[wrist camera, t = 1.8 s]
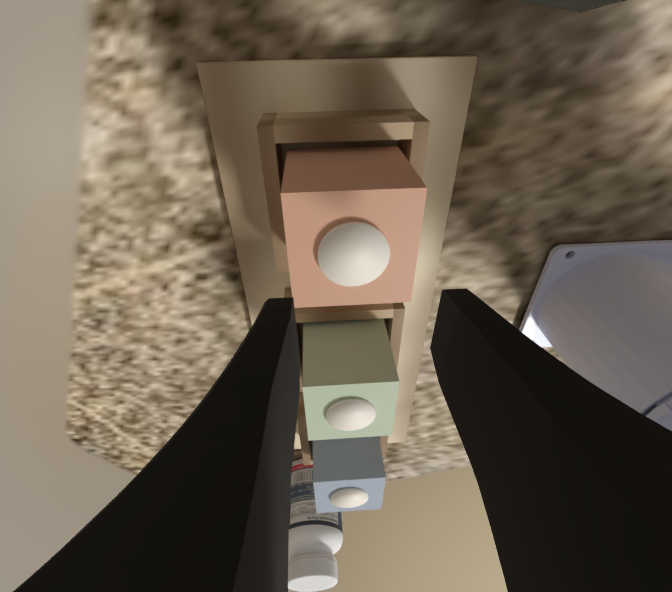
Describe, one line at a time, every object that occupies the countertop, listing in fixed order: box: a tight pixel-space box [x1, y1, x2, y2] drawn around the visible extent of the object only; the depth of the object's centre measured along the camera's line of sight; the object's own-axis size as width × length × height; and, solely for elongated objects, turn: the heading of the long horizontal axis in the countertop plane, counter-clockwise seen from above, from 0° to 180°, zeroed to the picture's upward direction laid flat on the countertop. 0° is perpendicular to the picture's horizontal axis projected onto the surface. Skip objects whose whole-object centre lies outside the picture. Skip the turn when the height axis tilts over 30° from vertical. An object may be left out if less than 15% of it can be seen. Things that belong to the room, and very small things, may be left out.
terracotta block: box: [280, 146, 427, 308], centre depth 14 cm, size 4×4×5 cm
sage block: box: [302, 318, 400, 441], centre depth 19 cm, size 4×4×5 cm
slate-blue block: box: [313, 436, 386, 513], centre depth 25 cm, size 4×4×5 cm
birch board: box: [196, 55, 478, 465], centre depth 22 cm, size 11×28×3 cm, turn 1°
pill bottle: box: [288, 458, 343, 592], centre depth 31 cm, size 5×5×9 cm
